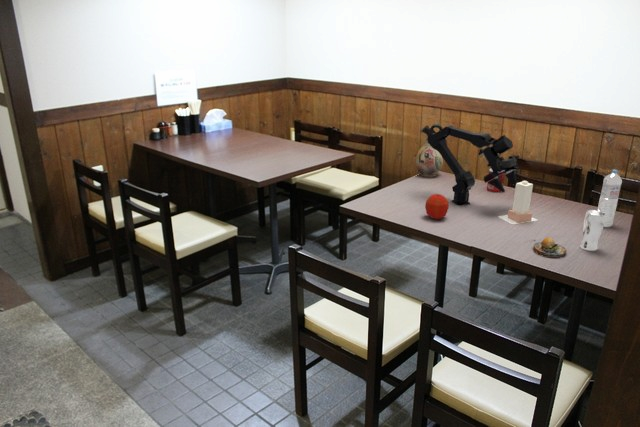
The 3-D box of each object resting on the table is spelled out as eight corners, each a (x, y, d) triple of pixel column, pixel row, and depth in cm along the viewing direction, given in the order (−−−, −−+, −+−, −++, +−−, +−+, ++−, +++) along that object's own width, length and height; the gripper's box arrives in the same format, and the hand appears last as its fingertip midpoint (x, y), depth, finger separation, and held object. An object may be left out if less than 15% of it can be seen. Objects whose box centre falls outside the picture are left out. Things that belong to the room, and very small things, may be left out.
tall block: (512, 211, 227) (516, 181, 222) (518, 208, 230) (523, 179, 225) (522, 214, 224) (526, 184, 219) (528, 212, 226) (533, 181, 221)
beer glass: (575, 244, 206) (582, 209, 200) (591, 244, 206) (599, 209, 201) (585, 252, 199) (592, 216, 194) (602, 251, 200) (610, 215, 194)
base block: (518, 222, 224) (519, 215, 223) (507, 217, 230) (508, 210, 229) (531, 220, 226) (532, 213, 225) (520, 215, 232) (521, 208, 231)
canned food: (503, 192, 265) (506, 172, 261) (487, 191, 267) (490, 171, 263) (501, 188, 272) (504, 168, 268) (486, 187, 274) (488, 167, 270)
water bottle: (610, 223, 227) (622, 168, 218) (613, 228, 221) (625, 173, 212) (593, 221, 229) (604, 167, 220) (595, 226, 223) (607, 171, 214)
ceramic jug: (411, 177, 290) (415, 124, 279) (417, 170, 304) (421, 119, 293) (442, 180, 285) (447, 127, 274) (446, 173, 298) (451, 121, 287)
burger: (571, 258, 195) (575, 240, 192) (541, 259, 194) (544, 241, 191) (555, 245, 206) (558, 228, 203) (527, 246, 205) (530, 228, 203)
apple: (420, 217, 233) (422, 193, 229) (432, 211, 240) (434, 188, 236) (440, 223, 226) (442, 199, 222) (451, 217, 233) (454, 193, 229)
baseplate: (512, 227, 223) (512, 224, 222) (497, 218, 232) (497, 216, 231) (537, 222, 227) (538, 220, 227) (522, 214, 236) (522, 212, 236)
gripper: (492, 156, 221) (510, 188, 219) (518, 145, 231) (536, 176, 229) (475, 167, 231) (492, 197, 229) (501, 156, 241) (517, 185, 238)
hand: (510, 189), depth 231 cm, fingers open, 9 cm apart
